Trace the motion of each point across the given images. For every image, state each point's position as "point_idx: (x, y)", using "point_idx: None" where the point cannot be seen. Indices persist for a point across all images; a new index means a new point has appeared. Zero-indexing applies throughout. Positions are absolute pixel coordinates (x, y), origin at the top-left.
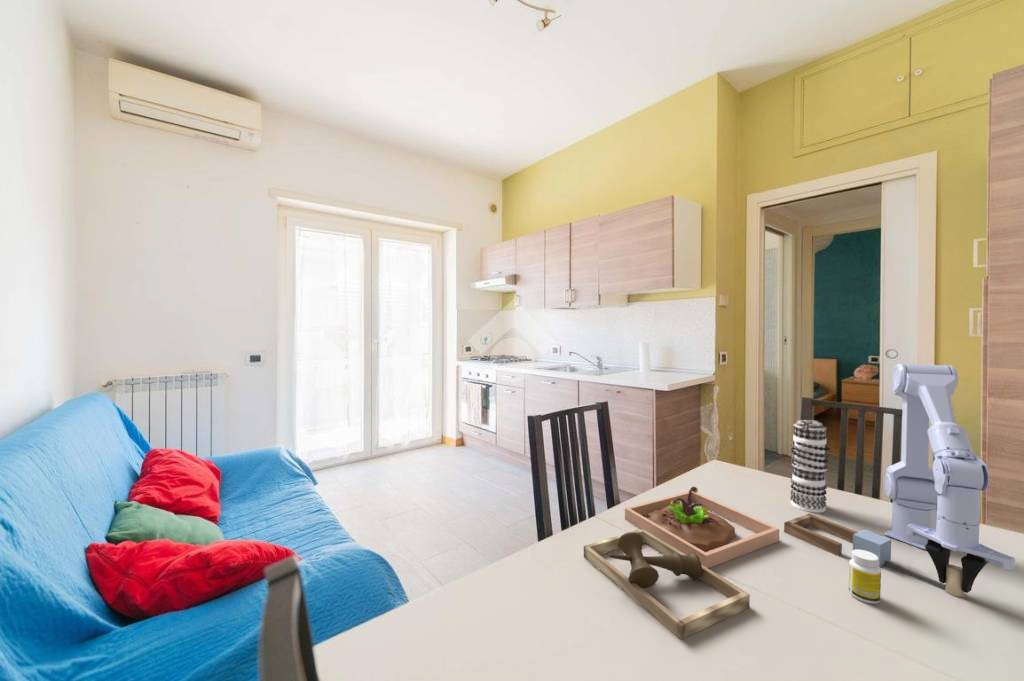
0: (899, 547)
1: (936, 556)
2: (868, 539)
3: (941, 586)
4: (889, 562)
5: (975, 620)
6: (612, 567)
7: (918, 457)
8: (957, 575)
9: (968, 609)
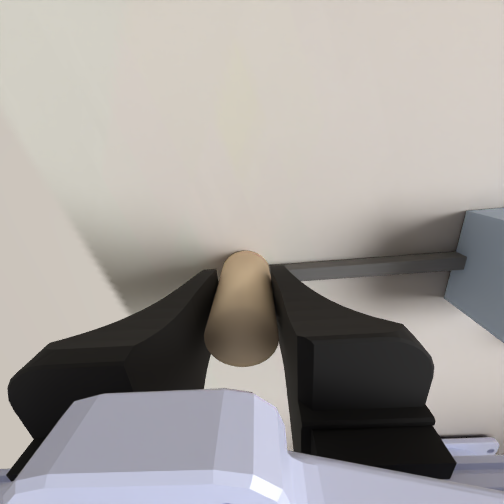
0: (441, 404)
1: (316, 316)
2: None
3: None
4: (450, 267)
5: (124, 138)
6: None
7: None
8: (223, 300)
9: (176, 201)
